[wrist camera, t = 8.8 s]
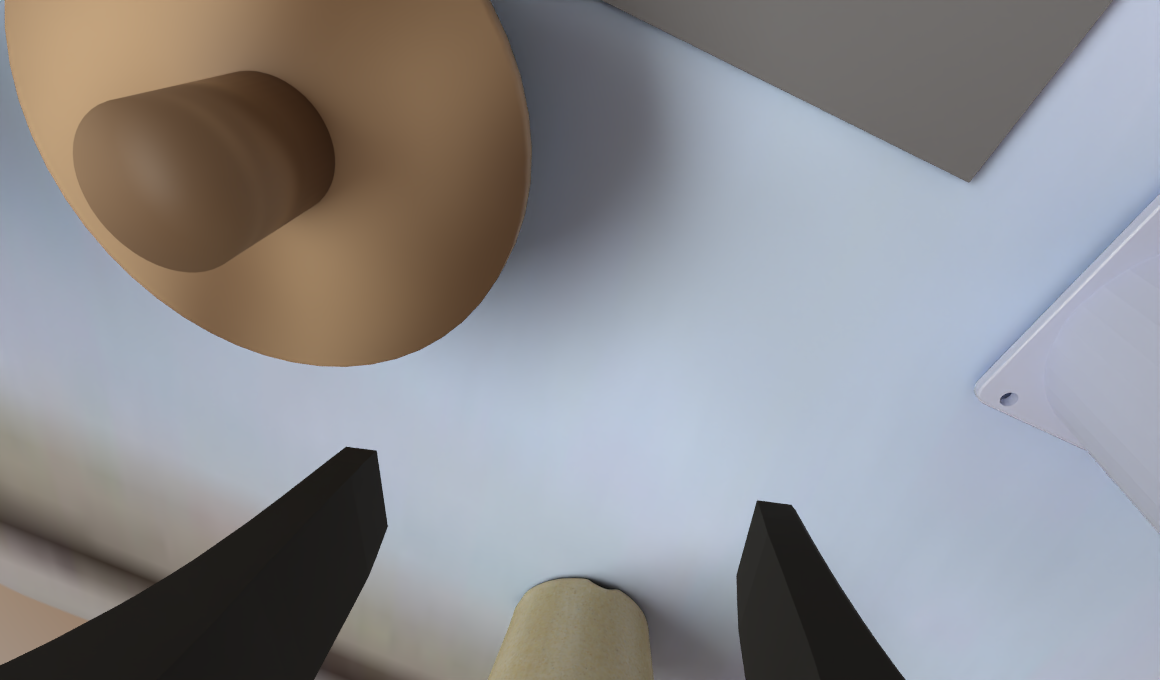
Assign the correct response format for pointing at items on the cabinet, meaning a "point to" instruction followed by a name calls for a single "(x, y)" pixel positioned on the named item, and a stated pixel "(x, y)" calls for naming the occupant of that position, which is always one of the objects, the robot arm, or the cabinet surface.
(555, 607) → the flower pot
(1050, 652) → the cabinet surface
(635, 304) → the cabinet surface
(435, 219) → the lid
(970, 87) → the mat
